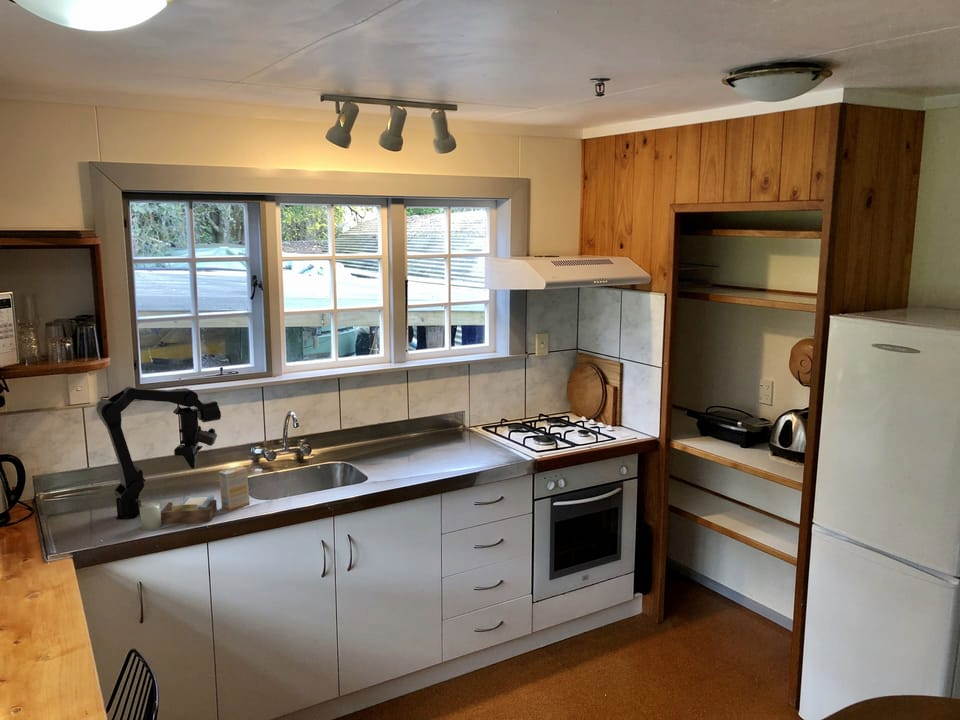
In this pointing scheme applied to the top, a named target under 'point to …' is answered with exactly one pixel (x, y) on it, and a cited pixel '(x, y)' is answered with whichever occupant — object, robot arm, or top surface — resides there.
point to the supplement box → (234, 488)
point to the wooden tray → (187, 513)
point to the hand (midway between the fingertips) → (193, 468)
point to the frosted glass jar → (150, 516)
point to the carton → (198, 501)
